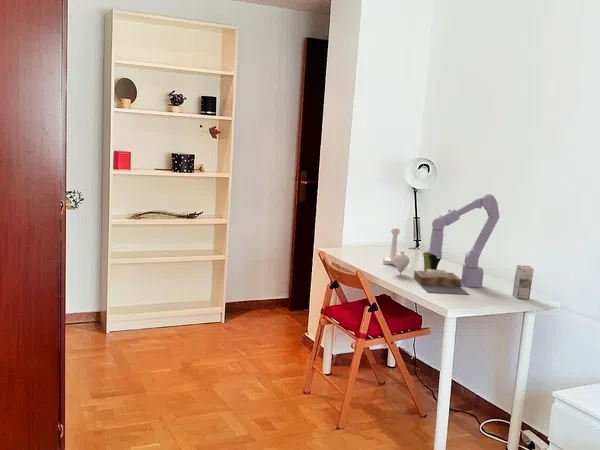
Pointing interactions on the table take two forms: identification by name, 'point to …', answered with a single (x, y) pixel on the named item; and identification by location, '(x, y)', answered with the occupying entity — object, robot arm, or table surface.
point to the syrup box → (523, 282)
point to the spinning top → (401, 261)
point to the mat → (444, 290)
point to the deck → (437, 279)
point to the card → (436, 273)
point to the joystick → (392, 247)
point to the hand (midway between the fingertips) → (433, 270)
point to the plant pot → (426, 260)
